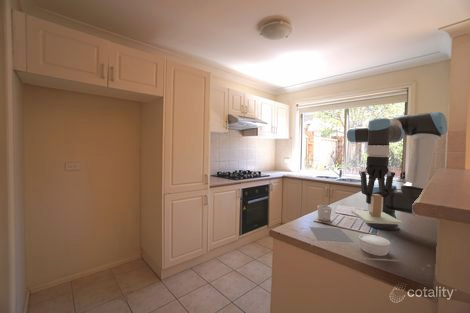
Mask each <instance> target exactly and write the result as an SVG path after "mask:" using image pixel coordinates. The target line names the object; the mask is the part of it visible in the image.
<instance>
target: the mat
mask: <svg viewBox="0 0 470 313" xmlns="http://www.w3.org/2000/svg"><path fill="white" fill-rule="evenodd" d="M309 228H310V230H311V232H312V233H313V235H314V237H315V238H316V240H317V241H325V242H326V241H327V242H342V243H343V242H345V243H354V241H353V240H352V239H351V238H350V237H349V236H348V235H347V233H345V232H344V231H343V230H342V229H341V228H336V227H316V226H309Z"/></svg>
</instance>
